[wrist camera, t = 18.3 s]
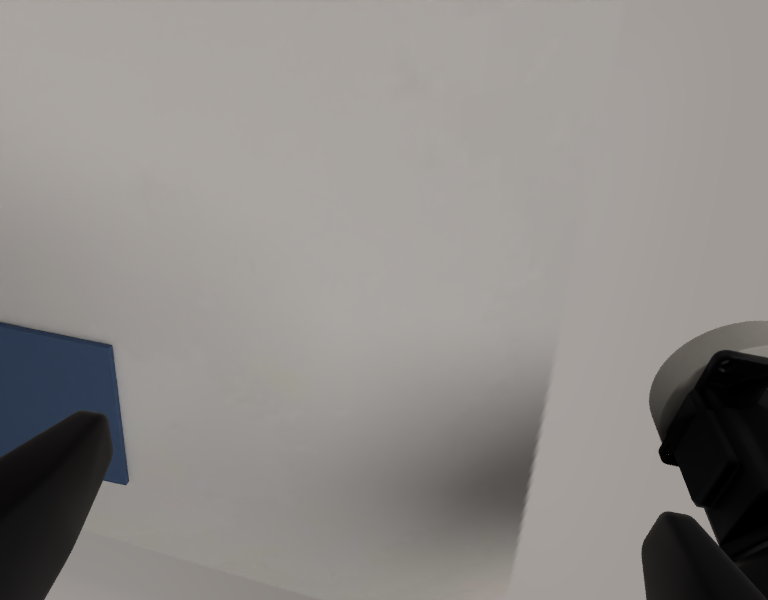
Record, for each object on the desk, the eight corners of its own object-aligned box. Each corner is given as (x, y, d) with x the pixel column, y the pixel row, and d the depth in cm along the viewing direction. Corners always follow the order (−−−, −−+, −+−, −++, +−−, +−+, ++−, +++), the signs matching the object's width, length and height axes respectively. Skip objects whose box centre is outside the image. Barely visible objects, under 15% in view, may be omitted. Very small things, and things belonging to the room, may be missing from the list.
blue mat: (112, 344, 26) (108, 349, 26) (129, 481, 31) (126, 485, 31) (-84, 305, 26) (-89, 308, 26) (-37, 446, 31) (-41, 450, 31)
